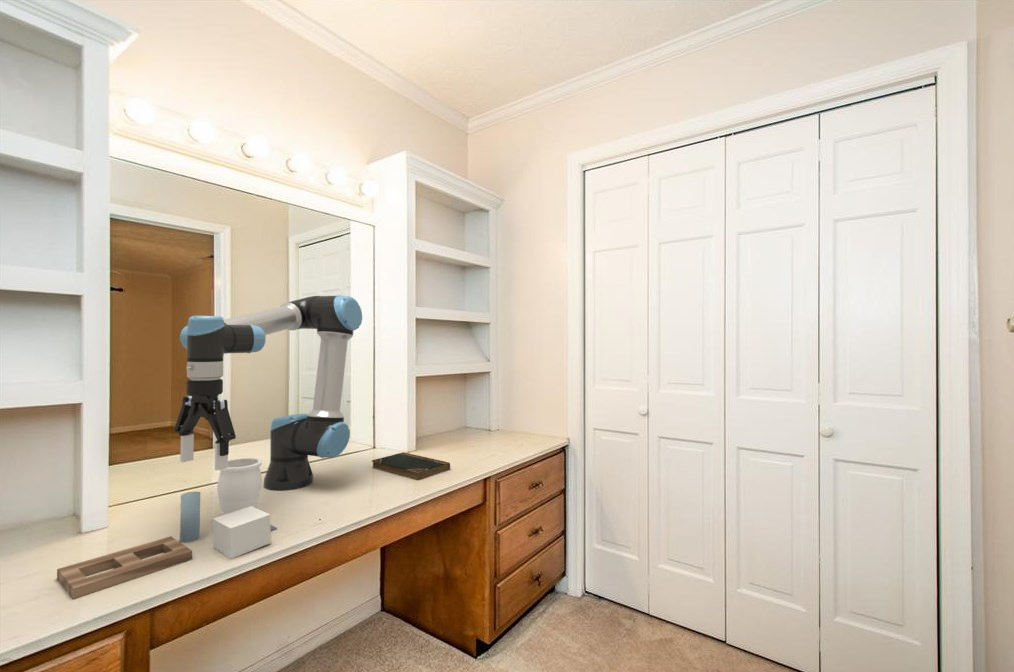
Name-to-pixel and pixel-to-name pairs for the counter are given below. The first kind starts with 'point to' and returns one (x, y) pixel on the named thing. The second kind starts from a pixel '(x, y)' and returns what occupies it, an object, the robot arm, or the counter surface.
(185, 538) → the peg
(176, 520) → the counter surface
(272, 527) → the tile
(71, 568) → the socket board
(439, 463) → the book
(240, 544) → the cover
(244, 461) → the jar
